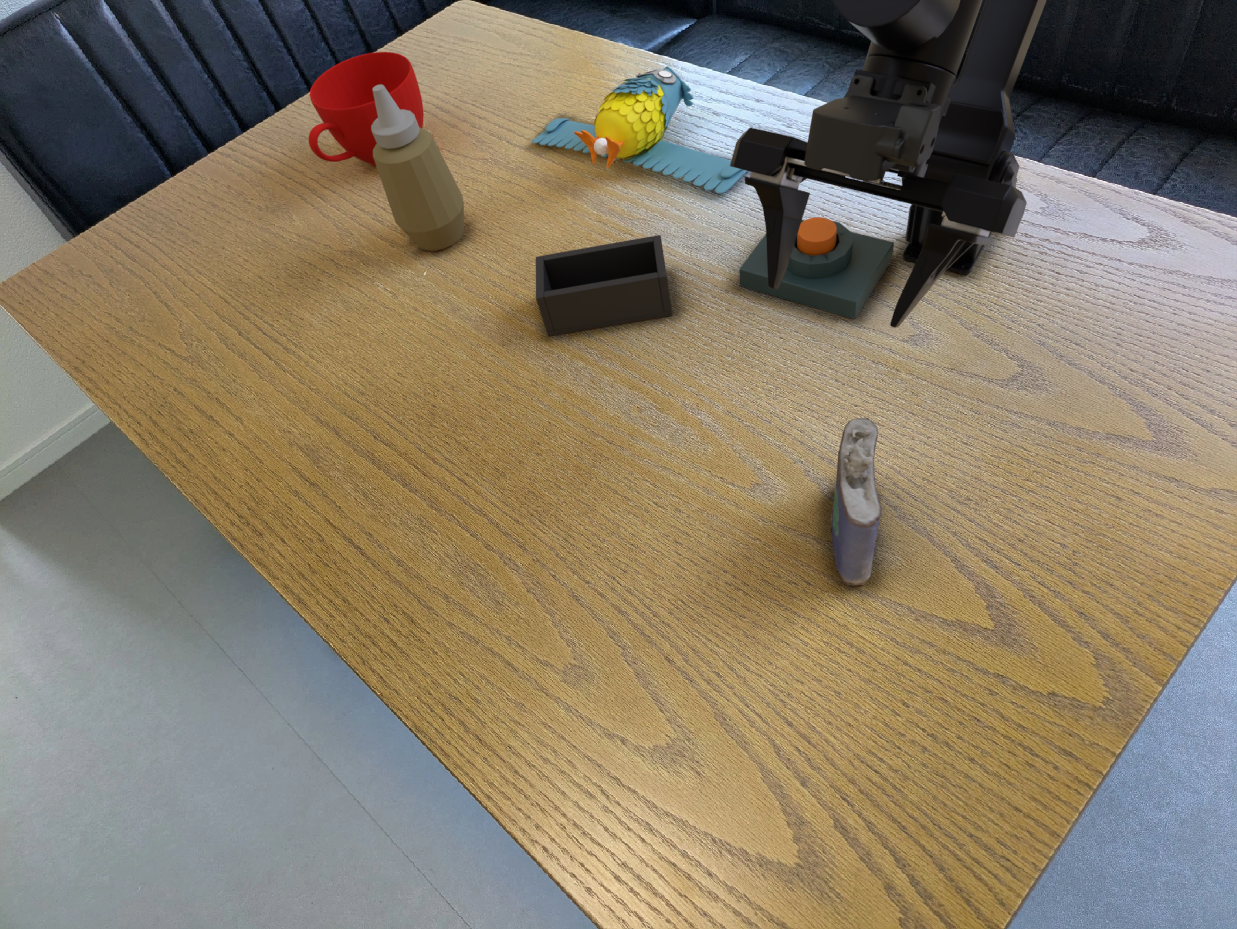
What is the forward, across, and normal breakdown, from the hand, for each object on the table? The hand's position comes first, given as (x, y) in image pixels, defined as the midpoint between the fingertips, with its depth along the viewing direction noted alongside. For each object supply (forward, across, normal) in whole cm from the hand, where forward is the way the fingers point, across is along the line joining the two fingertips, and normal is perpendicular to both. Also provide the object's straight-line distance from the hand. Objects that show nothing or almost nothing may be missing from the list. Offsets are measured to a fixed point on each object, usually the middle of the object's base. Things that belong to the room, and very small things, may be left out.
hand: (831, 306), depth 57 cm
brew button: (-3, -10, +20) cm, 23 cm away
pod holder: (+8, -26, +13) cm, 30 cm away
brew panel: (0, -10, +23) cm, 25 cm away
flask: (+16, +6, +3) cm, 18 cm away
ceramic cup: (+2, -70, +20) cm, 73 cm away
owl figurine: (-7, -38, +31) cm, 50 cm away
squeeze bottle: (+8, -51, +14) cm, 54 cm away
